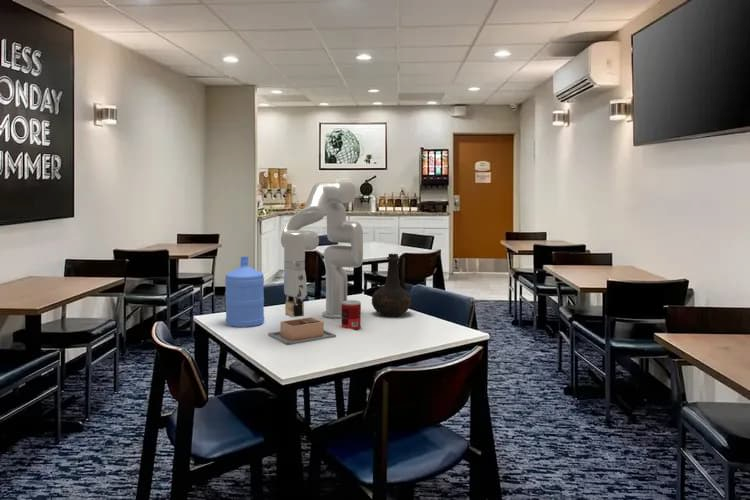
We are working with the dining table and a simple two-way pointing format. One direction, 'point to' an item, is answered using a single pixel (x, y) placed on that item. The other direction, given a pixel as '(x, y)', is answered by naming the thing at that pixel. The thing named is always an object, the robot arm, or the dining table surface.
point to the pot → (301, 329)
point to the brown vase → (391, 292)
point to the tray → (278, 337)
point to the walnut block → (307, 321)
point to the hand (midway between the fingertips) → (294, 313)
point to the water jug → (244, 296)
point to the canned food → (351, 314)
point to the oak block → (291, 308)
